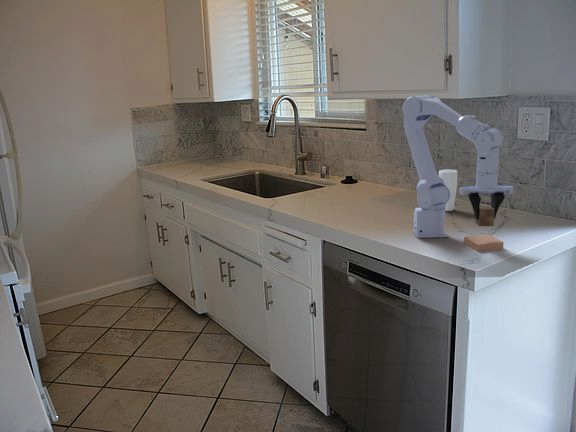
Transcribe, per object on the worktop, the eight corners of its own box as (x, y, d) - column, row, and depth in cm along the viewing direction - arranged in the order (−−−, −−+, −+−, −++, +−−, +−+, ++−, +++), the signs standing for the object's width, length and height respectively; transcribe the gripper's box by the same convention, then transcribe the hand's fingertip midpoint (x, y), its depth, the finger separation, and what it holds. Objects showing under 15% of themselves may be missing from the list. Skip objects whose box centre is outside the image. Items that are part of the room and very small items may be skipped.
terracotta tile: (477, 252, 148) (477, 244, 147) (463, 244, 156) (464, 236, 155) (503, 250, 149) (503, 242, 148) (488, 242, 157) (489, 234, 156)
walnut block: (479, 226, 149) (480, 209, 148) (475, 222, 153) (476, 206, 152) (493, 225, 149) (494, 209, 147) (489, 222, 152) (490, 205, 151)
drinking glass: (452, 207, 199) (454, 168, 195) (458, 211, 193) (460, 171, 189) (435, 208, 199) (436, 169, 195) (440, 212, 192) (442, 172, 189)
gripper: (465, 175, 143) (462, 222, 147) (518, 173, 142) (515, 221, 146) (458, 170, 150) (456, 216, 154) (509, 169, 149) (506, 214, 153)
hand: (484, 218), depth 150 cm, fingers closed on walnut block, 4 cm apart
